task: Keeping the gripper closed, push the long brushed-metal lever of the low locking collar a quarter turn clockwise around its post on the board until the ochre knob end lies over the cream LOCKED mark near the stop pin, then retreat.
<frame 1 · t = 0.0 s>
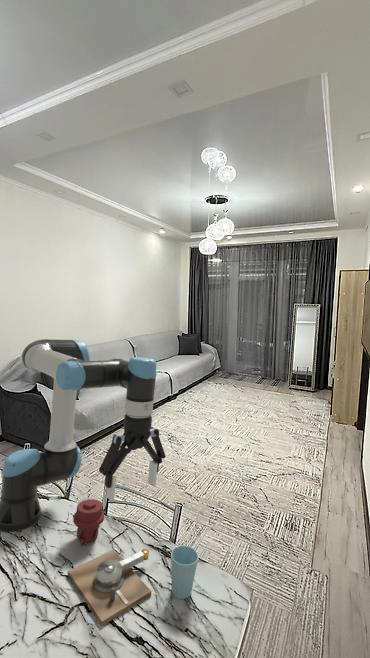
hand: (132, 491, 90), 28 cm above the table, fingers open, 13 cm apart
mechanical component: (87, 539, 110), on the table
cup: (181, 591, 92), on the table
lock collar: (124, 564, 95), point 4 cm above the table, hinge at 0.0°
post board: (108, 584, 92), on the table
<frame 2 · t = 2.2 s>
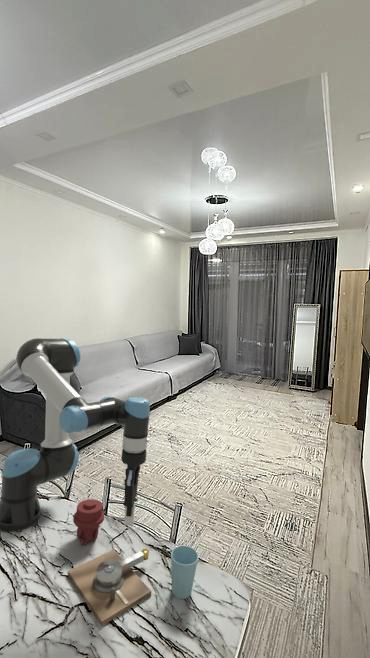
hand: (128, 523, 102), 11 cm above the table, fingers closed
nothing on the table moved.
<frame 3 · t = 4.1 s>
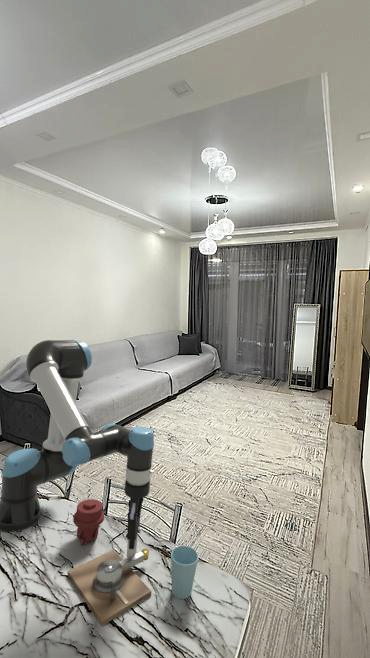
hand: (131, 556, 100), 3 cm above the table, fingers closed
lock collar: (124, 564, 95), point 4 cm above the table, hinge at 0.0°, touching gripper
everything else where it was.
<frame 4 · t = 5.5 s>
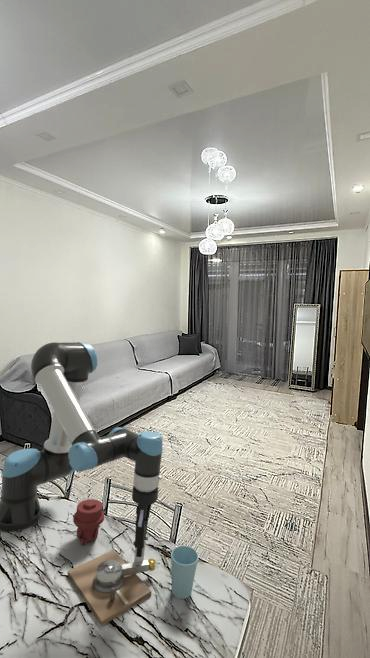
hand: (138, 563, 97), 3 cm above the table, fingers closed
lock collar: (126, 568, 94), point 4 cm above the table, hinge at 21.3°, touching gripper
everything else where it was.
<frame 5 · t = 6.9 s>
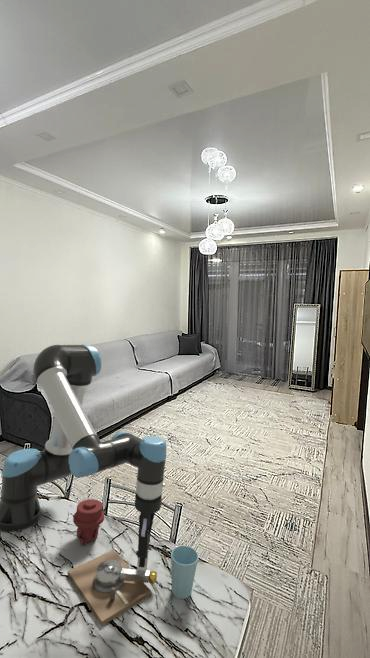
hand: (141, 574, 93), 3 cm above the table, fingers closed
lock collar: (126, 574, 92), point 4 cm above the table, hinge at 43.5°, touching gripper
everything else where it was.
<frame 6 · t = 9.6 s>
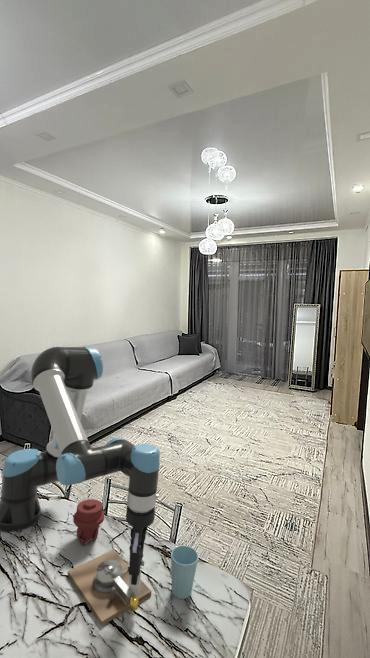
hand: (133, 592, 87), 3 cm above the table, fingers closed
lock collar: (118, 583, 88), point 4 cm above the table, hinge at 89.8°, touching gripper
everything else where it was.
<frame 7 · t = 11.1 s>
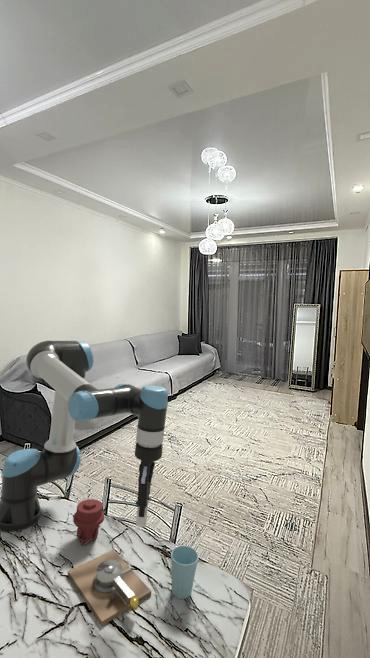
hand: (141, 525, 92), 18 cm above the table, fingers closed
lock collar: (118, 583, 88), point 4 cm above the table, hinge at 89.8°
everything else where it was.
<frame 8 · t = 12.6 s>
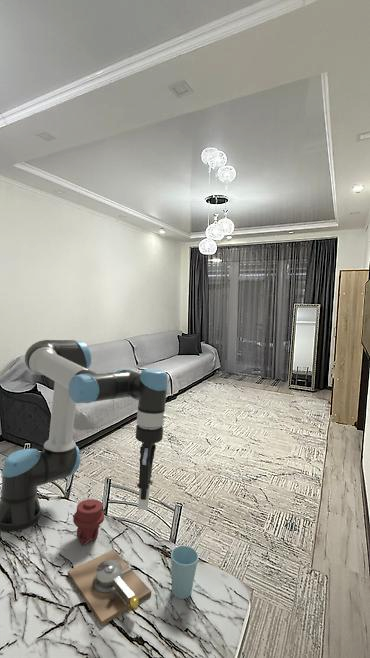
hand: (142, 508, 92), 22 cm above the table, fingers closed
nothing on the table moved.
at the end: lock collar at +90° (first picture: +0°) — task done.
